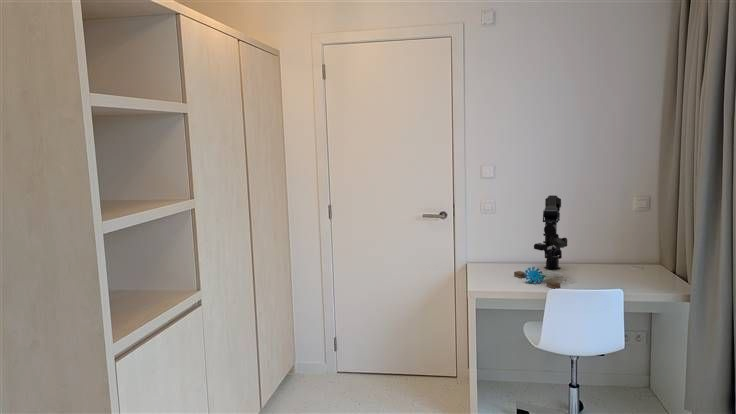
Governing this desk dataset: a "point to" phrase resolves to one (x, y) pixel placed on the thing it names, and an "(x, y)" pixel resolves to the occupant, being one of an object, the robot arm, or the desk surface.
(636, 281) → the desk surface
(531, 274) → the gear
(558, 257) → the robot arm
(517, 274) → the joist marks
